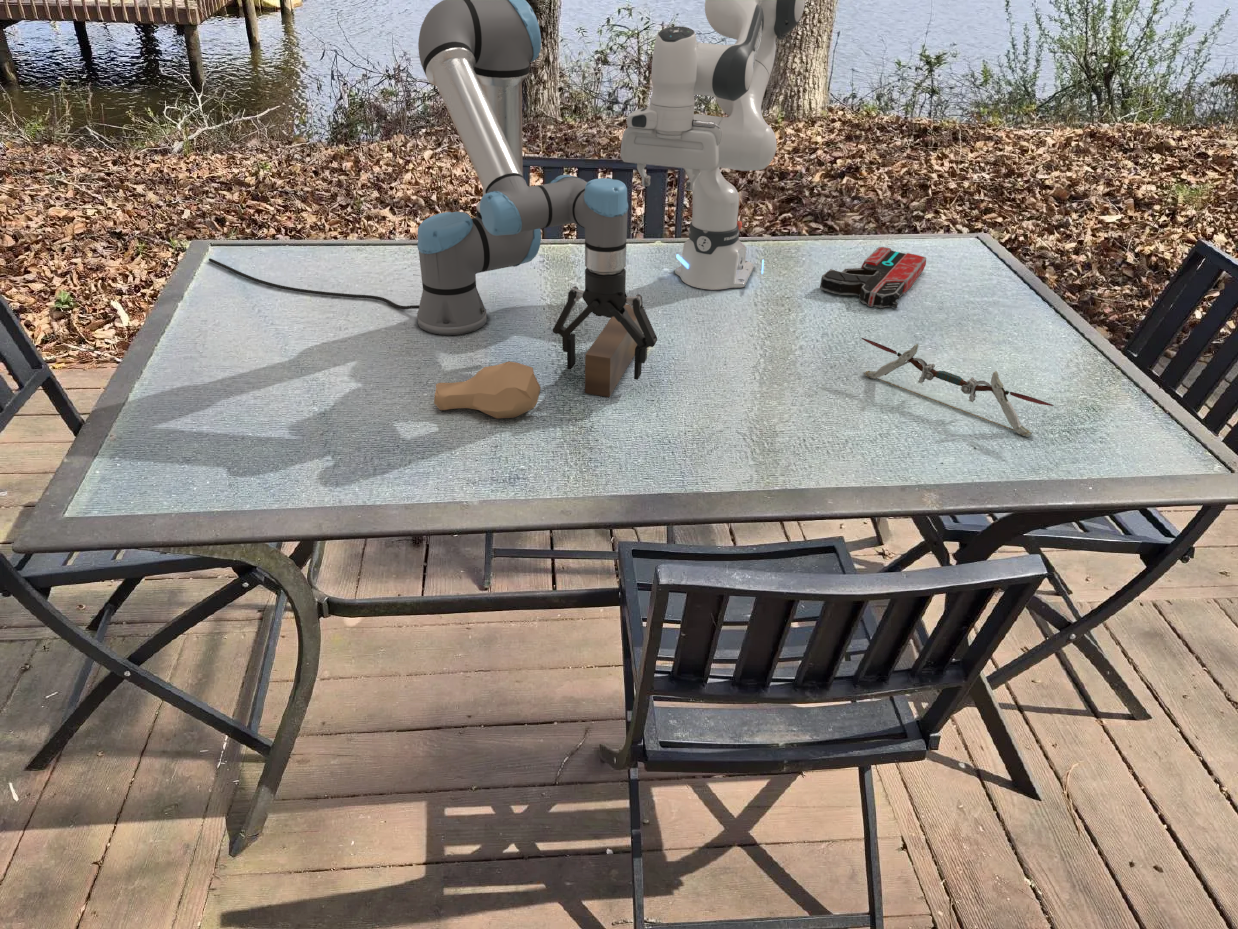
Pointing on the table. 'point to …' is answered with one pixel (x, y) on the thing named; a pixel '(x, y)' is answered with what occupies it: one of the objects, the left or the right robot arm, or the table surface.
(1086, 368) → the table surface
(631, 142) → the right robot arm
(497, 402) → the squash
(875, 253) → the gun
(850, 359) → the table surface
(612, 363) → the bar
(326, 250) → the table surface
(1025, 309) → the table surface
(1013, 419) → the bow
